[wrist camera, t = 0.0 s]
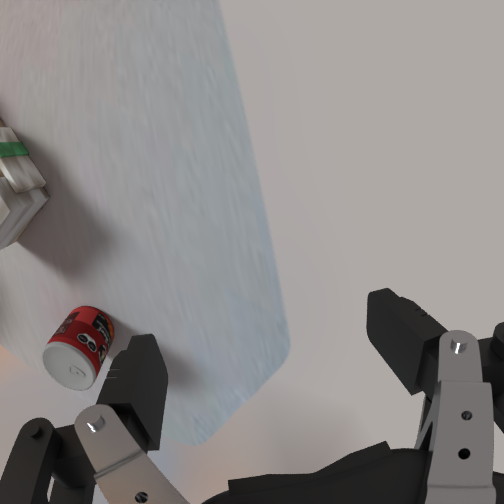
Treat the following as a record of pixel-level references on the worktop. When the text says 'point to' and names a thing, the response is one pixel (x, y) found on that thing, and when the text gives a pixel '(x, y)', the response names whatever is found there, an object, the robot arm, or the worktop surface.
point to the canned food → (79, 348)
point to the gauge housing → (17, 188)
